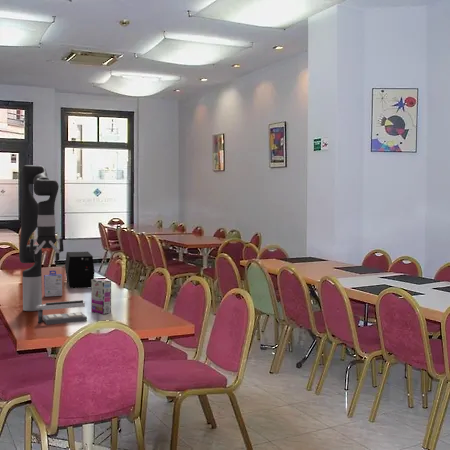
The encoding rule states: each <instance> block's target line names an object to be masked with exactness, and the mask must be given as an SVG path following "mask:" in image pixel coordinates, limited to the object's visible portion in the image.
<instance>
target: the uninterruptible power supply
mask: <svg viewBox="0 0 450 450" xmlns="http://www.w3.org/2000/svg"><path fill="white" fill-rule="evenodd" d="M64 268H65V276H66V278H65V279H66V282H67V285H68V288H69V289H87V288H88V287H91V280H94V279H95V265H94V256H93V255H92V254H91V253H90V252H89V251H67V252H66V254H65V264H64Z"/></svg>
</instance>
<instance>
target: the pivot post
mask: <svg viewBox="0 0 450 450" xmlns="http://www.w3.org/2000/svg"><path fill="white" fill-rule="evenodd" d="M43 311H44V310H37V321H38V322H37V323H38V324H43V321H44V320H43V315H44V314H43Z"/></svg>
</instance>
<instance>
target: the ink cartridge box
mask: <svg viewBox="0 0 450 450" xmlns="http://www.w3.org/2000/svg"><path fill="white" fill-rule="evenodd" d="M43 280H44V281H43V282H44V283H43V284H44V287H43V288H44V297H60V296H63V274H60V273H57V271H56V270H49V274H45V275H43Z"/></svg>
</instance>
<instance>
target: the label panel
mask: <svg viewBox="0 0 450 450" xmlns="http://www.w3.org/2000/svg"><path fill="white" fill-rule="evenodd" d="M43 321H44V323H45V324H46V325H47V326H48V325H58V324H59V325H60V324H71V323H82V322H87V321H88V317H87V316H86V315H85V314H84V313H83V312H79V311H78V312H69V313H68V312H66V313H52V314H43Z"/></svg>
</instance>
